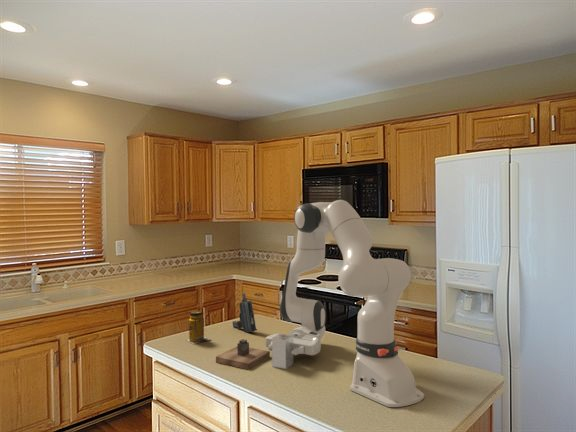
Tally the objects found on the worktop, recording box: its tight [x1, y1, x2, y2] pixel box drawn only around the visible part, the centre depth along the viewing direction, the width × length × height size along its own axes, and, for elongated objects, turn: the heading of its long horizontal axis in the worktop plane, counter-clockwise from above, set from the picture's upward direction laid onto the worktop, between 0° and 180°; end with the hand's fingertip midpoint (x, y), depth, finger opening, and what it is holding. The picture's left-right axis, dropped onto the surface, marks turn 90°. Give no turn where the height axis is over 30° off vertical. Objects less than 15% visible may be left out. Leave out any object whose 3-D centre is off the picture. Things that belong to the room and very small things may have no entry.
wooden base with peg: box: [215, 338, 271, 370], centre depth 151 cm, size 14×14×7 cm
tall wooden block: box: [271, 333, 294, 370], centre depth 145 cm, size 5×5×10 cm
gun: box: [232, 293, 258, 333], centre depth 189 cm, size 3×17×15 cm
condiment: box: [186, 310, 212, 345], centre depth 174 cm, size 7×8×12 cm
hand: (281, 350), depth 144 cm, fingers open, 8 cm apart
